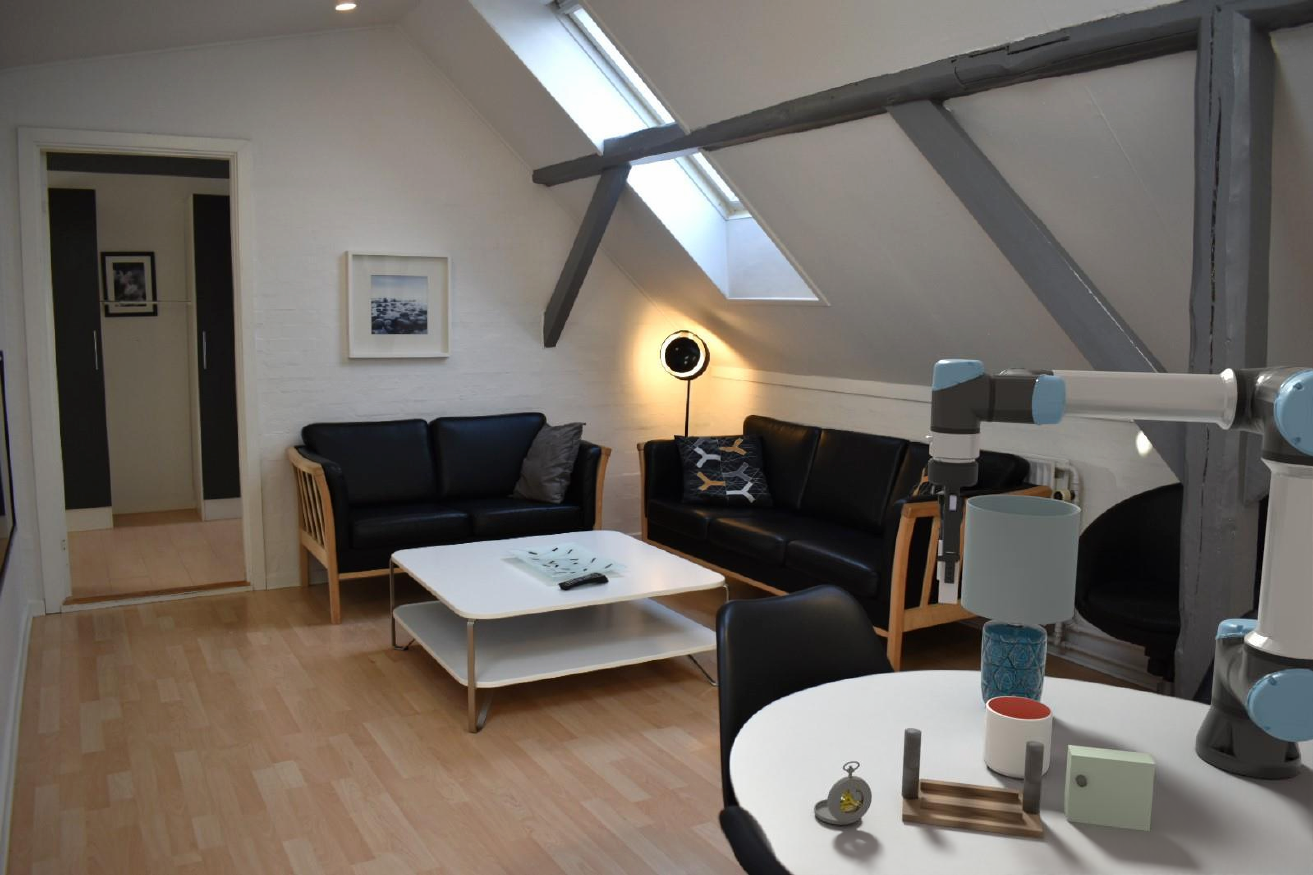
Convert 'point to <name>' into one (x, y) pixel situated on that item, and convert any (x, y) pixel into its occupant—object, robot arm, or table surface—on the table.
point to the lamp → (1018, 584)
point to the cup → (1015, 733)
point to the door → (1109, 787)
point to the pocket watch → (845, 810)
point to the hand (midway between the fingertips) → (946, 590)
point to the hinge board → (972, 796)
